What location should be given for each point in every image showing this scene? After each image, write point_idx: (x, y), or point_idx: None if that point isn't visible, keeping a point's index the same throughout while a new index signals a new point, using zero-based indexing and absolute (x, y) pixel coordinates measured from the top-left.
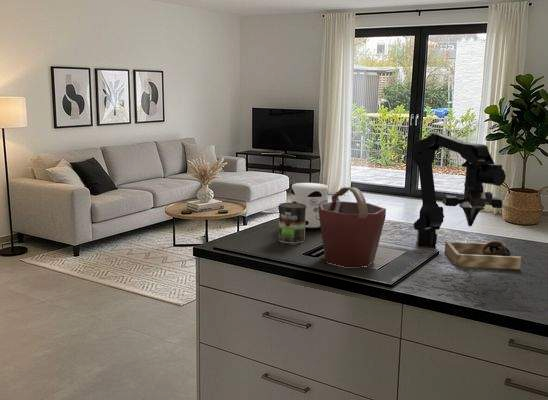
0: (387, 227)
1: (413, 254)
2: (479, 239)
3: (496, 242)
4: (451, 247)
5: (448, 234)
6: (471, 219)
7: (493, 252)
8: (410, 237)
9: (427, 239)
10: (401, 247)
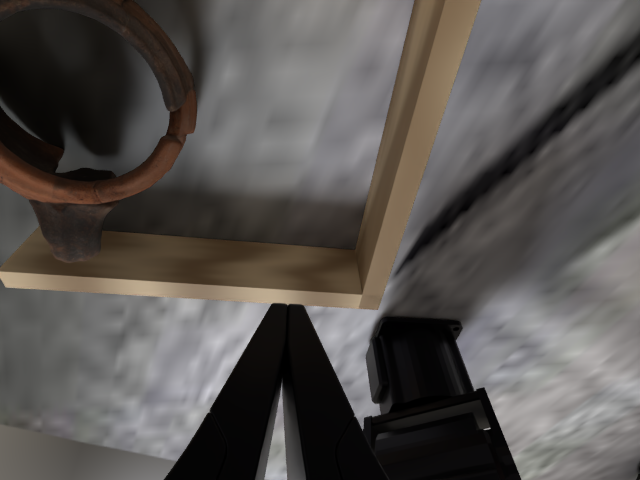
0: None
1: (571, 218)
2: (142, 409)
3: (25, 166)
4: (412, 191)
5: None
6: (276, 389)
7: (87, 4)
8: None
9: (431, 353)
10: (545, 313)
